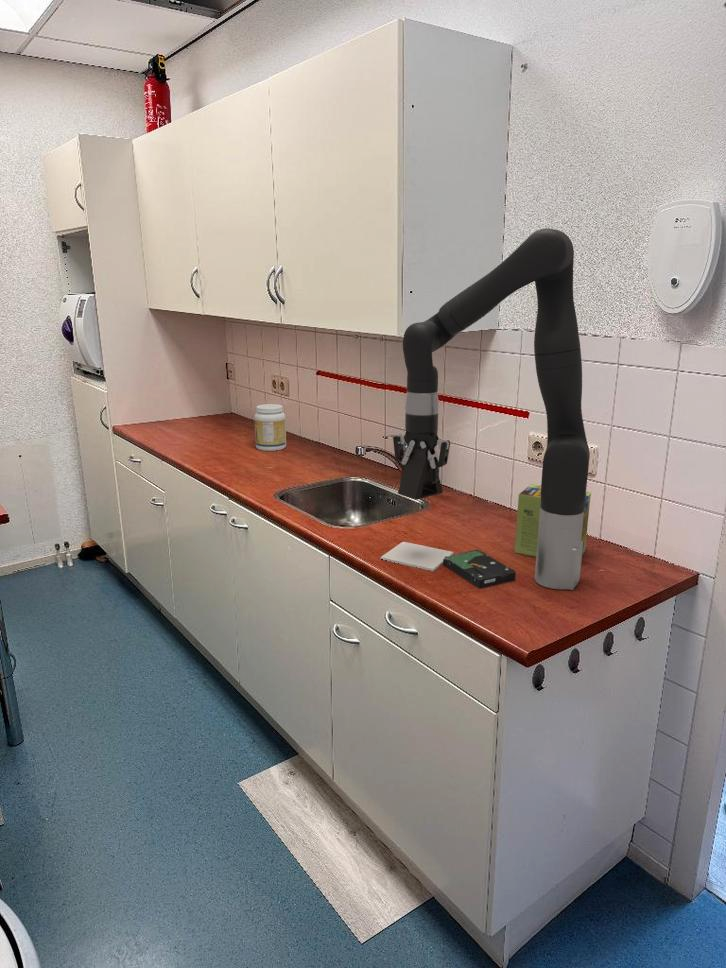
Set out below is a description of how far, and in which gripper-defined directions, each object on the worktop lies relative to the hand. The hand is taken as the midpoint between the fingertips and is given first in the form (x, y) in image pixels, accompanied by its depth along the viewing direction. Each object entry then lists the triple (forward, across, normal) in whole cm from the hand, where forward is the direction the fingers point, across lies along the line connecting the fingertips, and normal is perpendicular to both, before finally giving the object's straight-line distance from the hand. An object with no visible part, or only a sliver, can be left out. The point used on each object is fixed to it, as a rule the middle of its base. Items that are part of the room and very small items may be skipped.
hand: (420, 480), depth 163 cm
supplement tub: (+19, +101, -71) cm, 125 cm away
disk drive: (+20, -16, +1) cm, 26 cm away
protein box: (+20, -27, -20) cm, 39 cm away
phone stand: (+3, 0, 0) cm, 3 cm away
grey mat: (+19, 0, 0) cm, 19 cm away
